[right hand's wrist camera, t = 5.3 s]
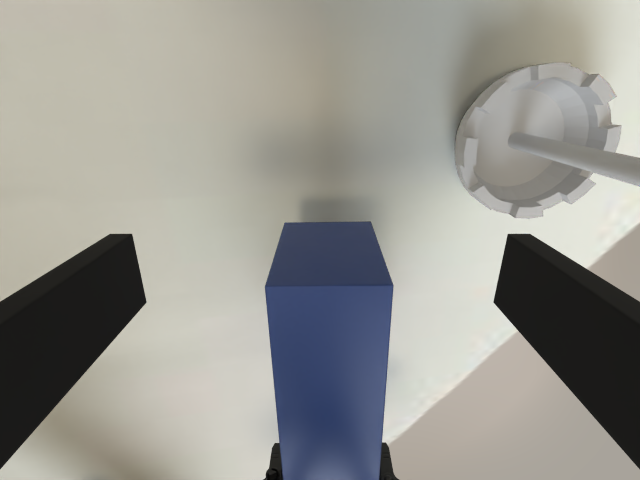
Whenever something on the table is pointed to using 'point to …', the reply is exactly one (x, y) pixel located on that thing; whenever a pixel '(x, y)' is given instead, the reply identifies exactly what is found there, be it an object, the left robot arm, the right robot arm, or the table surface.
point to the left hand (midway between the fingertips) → (329, 418)
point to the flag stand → (540, 140)
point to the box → (329, 349)
